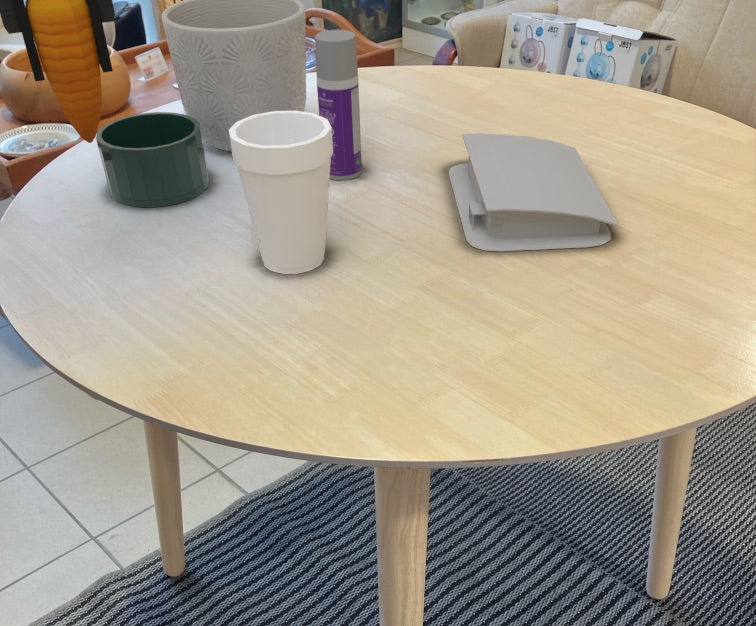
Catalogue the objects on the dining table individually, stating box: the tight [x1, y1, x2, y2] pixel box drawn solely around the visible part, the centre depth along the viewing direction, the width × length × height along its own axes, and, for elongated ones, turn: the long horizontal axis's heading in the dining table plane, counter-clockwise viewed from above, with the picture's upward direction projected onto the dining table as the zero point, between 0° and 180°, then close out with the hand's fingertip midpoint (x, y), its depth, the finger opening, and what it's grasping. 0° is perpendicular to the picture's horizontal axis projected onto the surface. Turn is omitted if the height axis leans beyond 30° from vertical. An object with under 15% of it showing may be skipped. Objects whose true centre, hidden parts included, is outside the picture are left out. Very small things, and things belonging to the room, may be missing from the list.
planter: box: [161, 0, 307, 153], centre depth 106 cm, size 17×17×15 cm
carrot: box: [24, 0, 103, 144], centre depth 68 cm, size 5×5×15 cm
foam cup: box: [229, 111, 333, 275], centre depth 83 cm, size 10×9×13 cm
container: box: [314, 29, 363, 181], centre depth 98 cm, size 5×5×15 cm
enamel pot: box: [95, 111, 210, 208], centre depth 99 cm, size 12×12×6 cm
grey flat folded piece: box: [448, 132, 619, 252], centre depth 95 cm, size 15×23×4 cm, turn 3°
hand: (72, 70), depth 69 cm, fingers closed on carrot, 5 cm apart
